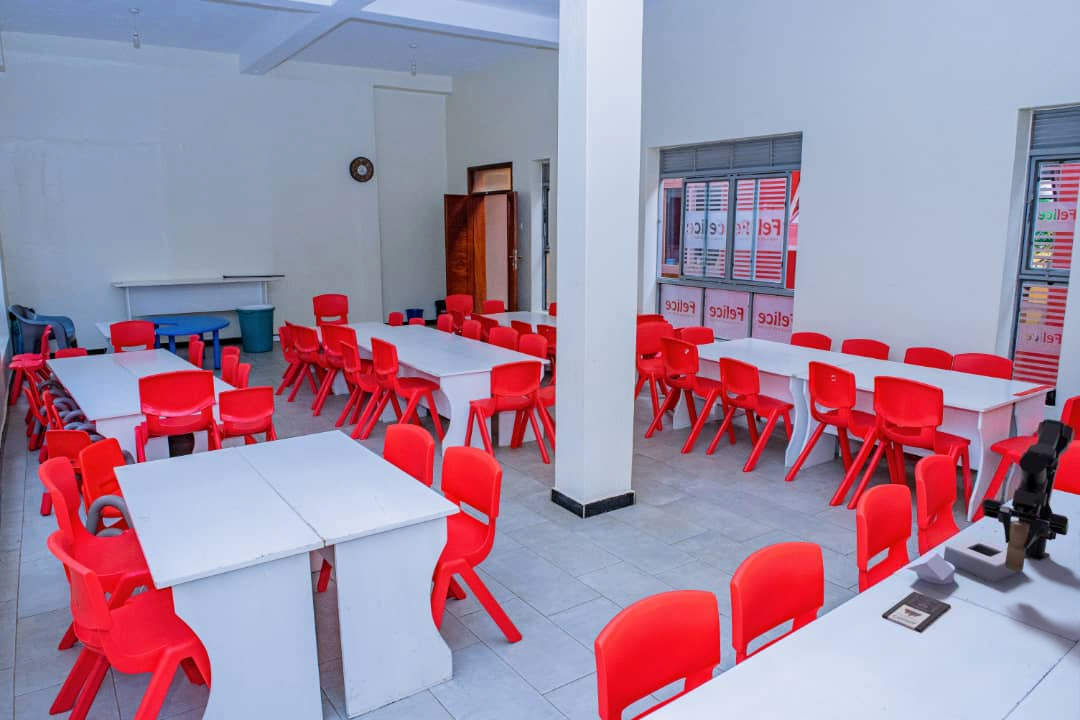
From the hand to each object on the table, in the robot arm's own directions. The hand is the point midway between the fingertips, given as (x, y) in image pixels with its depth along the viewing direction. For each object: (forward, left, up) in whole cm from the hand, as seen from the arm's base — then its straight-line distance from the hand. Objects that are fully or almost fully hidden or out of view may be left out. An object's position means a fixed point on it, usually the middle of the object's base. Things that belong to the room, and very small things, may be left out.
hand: (1016, 545), depth 195 cm
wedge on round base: (+9, -15, -14) cm, 23 cm away
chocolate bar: (+29, -7, -14) cm, 33 cm away
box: (-10, -12, -13) cm, 21 cm away
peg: (-1, 0, -7) cm, 7 cm away
